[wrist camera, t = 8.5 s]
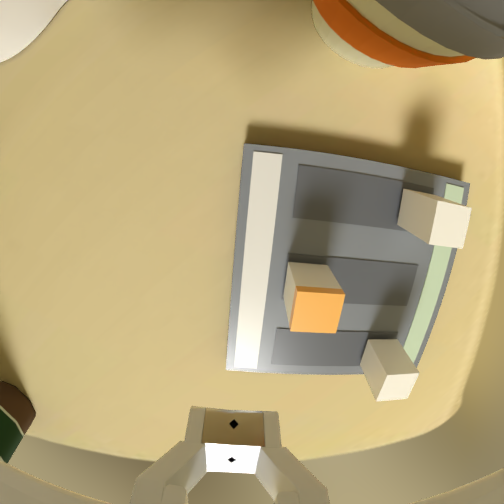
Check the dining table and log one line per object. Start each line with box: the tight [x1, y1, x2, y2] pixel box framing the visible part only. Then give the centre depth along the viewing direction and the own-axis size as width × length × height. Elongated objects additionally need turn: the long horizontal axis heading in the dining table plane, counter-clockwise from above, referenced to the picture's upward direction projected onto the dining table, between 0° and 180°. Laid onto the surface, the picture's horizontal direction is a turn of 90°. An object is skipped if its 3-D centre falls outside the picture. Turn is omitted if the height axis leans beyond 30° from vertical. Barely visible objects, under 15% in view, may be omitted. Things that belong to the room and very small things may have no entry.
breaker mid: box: [283, 262, 345, 333], centre depth 22 cm, size 3×3×5 cm
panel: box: [226, 144, 470, 375], centre depth 25 cm, size 19×19×2 cm
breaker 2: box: [397, 189, 472, 249], centre depth 20 cm, size 3×3×5 cm
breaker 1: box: [360, 339, 419, 401], centre depth 24 cm, size 3×3×5 cm
